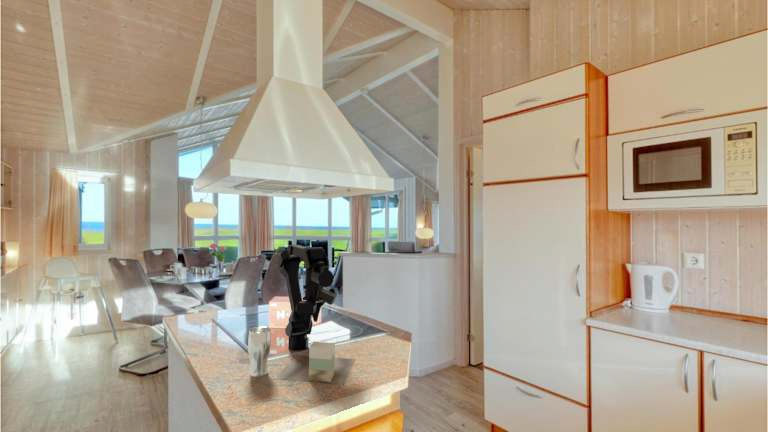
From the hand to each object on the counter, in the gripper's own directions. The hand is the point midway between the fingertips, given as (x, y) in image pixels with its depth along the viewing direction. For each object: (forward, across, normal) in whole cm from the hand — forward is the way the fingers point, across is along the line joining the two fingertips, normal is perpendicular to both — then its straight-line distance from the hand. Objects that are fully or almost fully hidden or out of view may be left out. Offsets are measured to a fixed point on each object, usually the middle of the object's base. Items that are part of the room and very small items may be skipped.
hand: (311, 325), depth 128 cm
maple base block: (+12, -14, -8) cm, 20 cm away
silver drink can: (+13, -14, +13) cm, 23 cm away
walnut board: (+13, -8, -5) cm, 16 cm away
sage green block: (+8, -14, -8) cm, 18 cm away
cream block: (+5, -14, -8) cm, 17 cm away
